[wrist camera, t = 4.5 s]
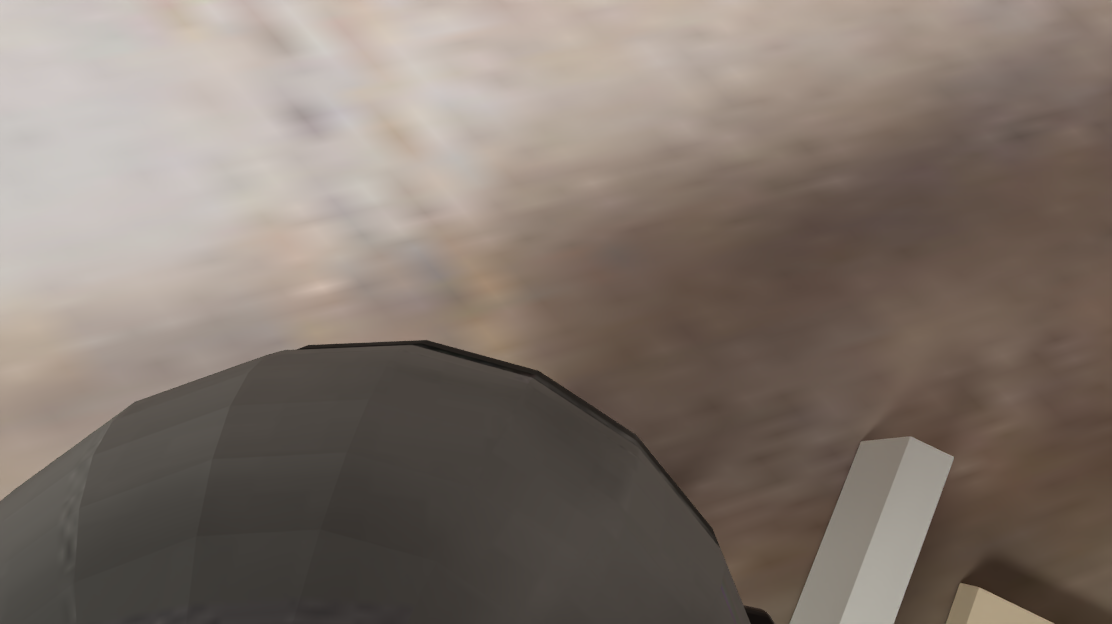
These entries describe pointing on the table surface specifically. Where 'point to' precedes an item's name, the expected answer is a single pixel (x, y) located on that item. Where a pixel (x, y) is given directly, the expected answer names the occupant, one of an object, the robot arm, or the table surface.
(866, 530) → the divider wall
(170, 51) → the table surface
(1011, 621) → the coaster
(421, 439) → the beverage cup
